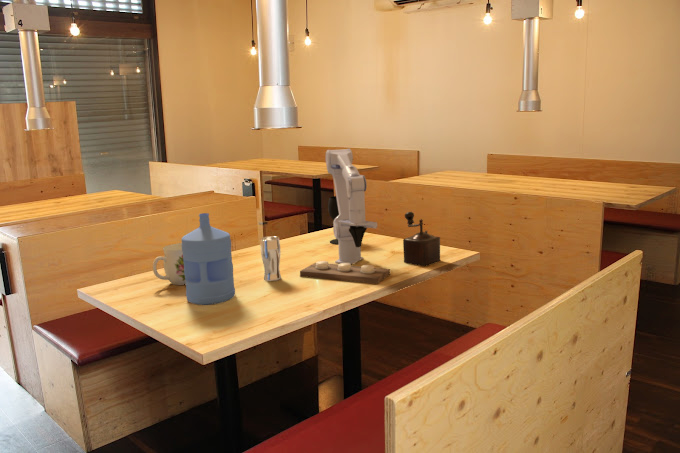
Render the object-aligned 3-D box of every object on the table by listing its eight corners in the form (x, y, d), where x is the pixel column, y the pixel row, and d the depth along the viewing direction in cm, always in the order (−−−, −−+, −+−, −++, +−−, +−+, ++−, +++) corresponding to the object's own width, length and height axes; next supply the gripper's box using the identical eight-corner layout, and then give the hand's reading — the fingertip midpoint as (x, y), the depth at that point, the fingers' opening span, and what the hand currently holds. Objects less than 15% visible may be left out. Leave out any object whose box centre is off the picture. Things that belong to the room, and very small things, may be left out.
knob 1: (319, 265, 228) (319, 260, 227) (331, 266, 226) (331, 261, 225) (313, 269, 223) (312, 263, 223) (325, 270, 221) (325, 264, 221)
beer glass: (279, 282, 216) (276, 240, 213) (260, 281, 218) (257, 240, 215) (284, 276, 223) (282, 235, 220) (266, 276, 225) (263, 235, 221)
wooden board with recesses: (315, 267, 233) (315, 262, 232) (390, 274, 220) (389, 269, 219) (300, 276, 222) (299, 270, 222) (377, 284, 209) (377, 278, 209)
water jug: (193, 291, 210) (186, 210, 204) (239, 289, 209) (233, 208, 204) (180, 306, 195) (172, 219, 189) (230, 305, 194) (222, 217, 188)
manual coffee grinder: (442, 260, 236) (441, 214, 232) (425, 266, 228) (424, 219, 224) (409, 254, 246) (408, 210, 242) (392, 260, 238) (391, 215, 234)
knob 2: (341, 267, 224) (341, 262, 223) (353, 268, 222) (353, 263, 221) (335, 271, 220) (335, 265, 219) (348, 272, 217) (347, 266, 217)
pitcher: (148, 285, 219) (144, 248, 216) (193, 274, 230) (190, 239, 227) (162, 292, 211) (158, 253, 208) (208, 280, 222) (205, 243, 219)
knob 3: (364, 269, 220) (363, 264, 220) (377, 270, 218) (376, 265, 217) (358, 273, 216) (358, 267, 215) (371, 274, 213) (371, 268, 213)
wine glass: (327, 244, 269) (325, 199, 264) (331, 239, 279) (329, 195, 274) (351, 244, 267) (349, 199, 263) (354, 239, 277) (353, 195, 273)
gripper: (333, 210, 220) (335, 247, 223) (371, 212, 214) (372, 250, 216) (342, 207, 226) (344, 243, 229) (379, 209, 220) (380, 246, 223)
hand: (358, 246), depth 223 cm, fingers closed
